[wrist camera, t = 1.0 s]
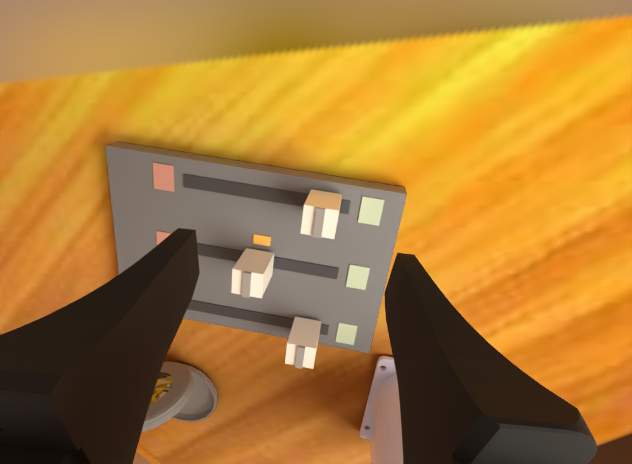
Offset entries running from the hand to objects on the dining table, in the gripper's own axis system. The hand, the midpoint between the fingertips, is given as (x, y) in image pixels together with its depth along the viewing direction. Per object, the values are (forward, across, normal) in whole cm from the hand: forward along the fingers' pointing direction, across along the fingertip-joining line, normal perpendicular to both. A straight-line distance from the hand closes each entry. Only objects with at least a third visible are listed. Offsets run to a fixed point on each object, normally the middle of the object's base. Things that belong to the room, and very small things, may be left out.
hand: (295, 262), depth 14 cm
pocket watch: (+10, +9, +24) cm, 27 cm away
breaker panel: (+12, +3, +9) cm, 15 cm away
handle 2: (+8, -1, +14) cm, 16 cm away
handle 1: (+10, -1, +4) cm, 11 cm away
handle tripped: (+10, +3, +9) cm, 13 cm away
